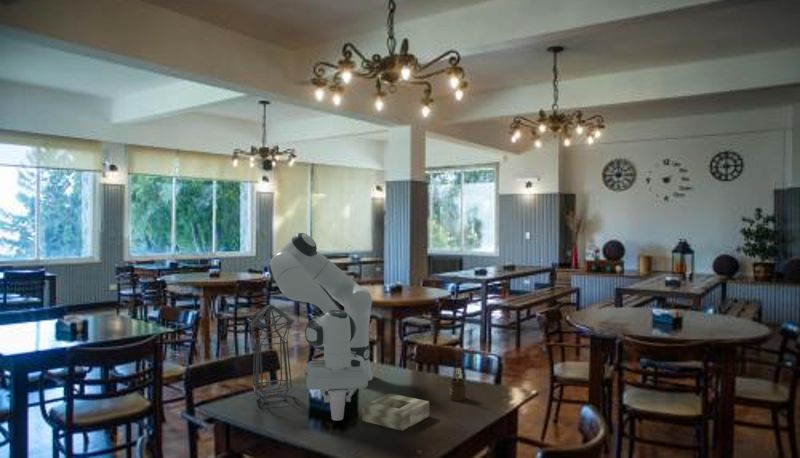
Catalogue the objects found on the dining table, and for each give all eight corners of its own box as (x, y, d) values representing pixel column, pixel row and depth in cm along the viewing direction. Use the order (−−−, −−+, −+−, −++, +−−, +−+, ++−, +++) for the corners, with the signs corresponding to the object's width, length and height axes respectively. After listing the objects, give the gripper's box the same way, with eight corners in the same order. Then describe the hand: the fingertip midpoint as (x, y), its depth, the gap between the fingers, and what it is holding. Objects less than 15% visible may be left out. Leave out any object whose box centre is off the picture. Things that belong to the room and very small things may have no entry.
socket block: (362, 420, 183) (362, 405, 183) (390, 407, 197) (390, 393, 197) (402, 430, 174) (402, 414, 174) (429, 416, 188) (429, 401, 188)
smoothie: (343, 422, 182) (343, 379, 182) (325, 421, 183) (324, 378, 183) (349, 416, 188) (349, 374, 188) (331, 414, 189) (331, 373, 189)
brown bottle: (465, 396, 209) (465, 364, 209) (465, 401, 203) (465, 368, 203) (449, 396, 210) (449, 364, 210) (449, 401, 204) (449, 368, 204)
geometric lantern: (297, 402, 202) (295, 306, 201) (252, 409, 197) (250, 309, 196) (289, 390, 217) (287, 300, 216) (247, 395, 211) (245, 303, 210)
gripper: (305, 363, 181) (305, 405, 181) (368, 361, 183) (368, 403, 183) (306, 358, 187) (306, 399, 187) (367, 357, 190) (367, 397, 190)
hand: (337, 401), depth 185 cm, fingers closed on smoothie, 6 cm apart
